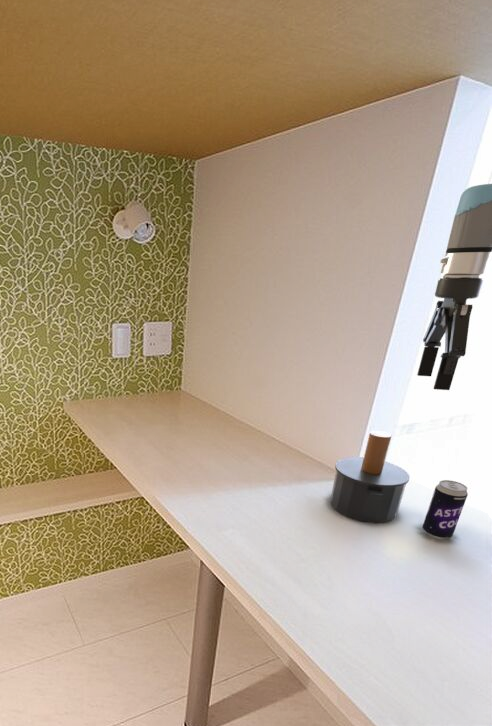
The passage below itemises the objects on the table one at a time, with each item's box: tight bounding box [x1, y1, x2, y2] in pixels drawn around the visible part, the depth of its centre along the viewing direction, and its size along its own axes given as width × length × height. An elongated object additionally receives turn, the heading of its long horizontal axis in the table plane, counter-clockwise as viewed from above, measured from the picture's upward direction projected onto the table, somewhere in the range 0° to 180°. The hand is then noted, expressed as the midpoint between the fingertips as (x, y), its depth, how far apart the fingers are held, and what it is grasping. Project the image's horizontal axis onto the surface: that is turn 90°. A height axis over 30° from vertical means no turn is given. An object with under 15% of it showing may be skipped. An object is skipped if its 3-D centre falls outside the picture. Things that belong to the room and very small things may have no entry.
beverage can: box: [422, 479, 469, 540], centre depth 93 cm, size 6×6×12 cm
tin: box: [329, 470, 407, 525], centre depth 104 cm, size 15×20×10 cm
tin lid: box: [334, 430, 410, 488], centre depth 100 cm, size 16×16×10 cm
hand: (432, 382), depth 96 cm, fingers open, 13 cm apart
